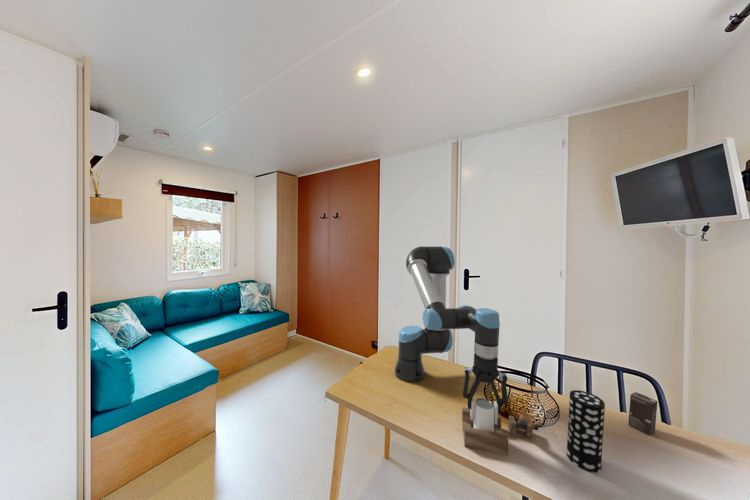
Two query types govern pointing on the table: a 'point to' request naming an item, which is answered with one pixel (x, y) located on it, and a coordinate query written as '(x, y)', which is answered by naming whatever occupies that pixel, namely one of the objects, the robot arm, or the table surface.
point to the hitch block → (491, 434)
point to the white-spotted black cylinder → (585, 430)
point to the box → (642, 413)
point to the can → (483, 415)
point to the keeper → (523, 421)
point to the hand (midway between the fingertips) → (483, 419)
